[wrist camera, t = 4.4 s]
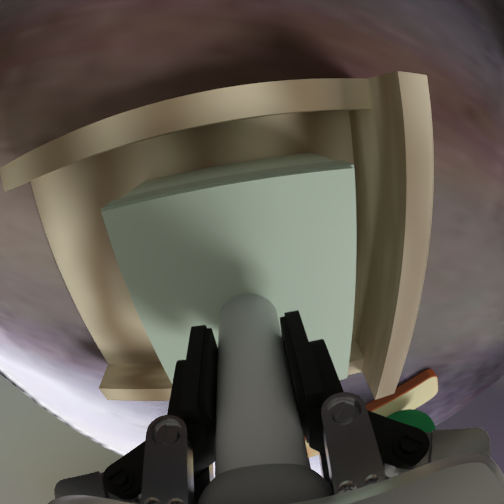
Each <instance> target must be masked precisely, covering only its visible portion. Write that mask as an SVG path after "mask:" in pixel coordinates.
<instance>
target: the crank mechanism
mask: <svg viewBox="0 0 504 504" xmlns="http://www.w3.org/2000/svg"><path fill="white" fill-rule="evenodd" d="M437 392H438V380H437V376H436V374H435V373H434V371H433V370H432V369H428V370H425V371H423V372H422V373H420V374H418V375H417V376H415V377H414V378H412V379H410V380H409V381H407V382H406V383H404V384H402V385H400V386H399V387H397V388H396V390H395V393H394V394H391V395H388V396H385V397H382V398H379V399H376V400H373V401H372V402H370V403H368V404H366V408H367V410H369V411H371V412H374V413H376V414H379V415H382V416H385V417H387V418H390V419H393V420H396V421H399V422H402V423H405V424H408V425H411V426H414V427H417V428H419V429H421V430H423V431H424V432H432V431H433V430H436V429H435V425H434V423H433V421H432V420H431V418H430V417H429V416H428V415H427V414H425V413H423V412H421V411H418V410H414V409H416V408H417V407H419V406H420V405H422V404H424V403H425V402H427V401H429V400H430V399H431V398H433V397H434V396H435V395H436V393H437ZM304 439H305V444H306V448H307V453H308V458H310V457H313V456H316V455H318V454H319V452H318V451H316V450H314V449H312V448H310V447H309V443H307V442H306V437H304Z"/></svg>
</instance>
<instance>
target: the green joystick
mask: <svg viewBox="0 0 504 504" xmlns="http://www.w3.org/2000/svg"><path fill="white" fill-rule="evenodd" d="M101 213H102V216H103V220H104V223H105V226H106V229H107V233H108V236H109V239H110V242H111V245H112V248H113V251H114V254H115V256H116V259H117V262H118V265H119V268H120V270H121V273H122V276H123V278H124V281H125V283H126V286H127V289H128V291H129V294H130V296H131V298H132V301H133V303H134V306H135V308H136V310H137V313H138V315H139V317H140V320H141V322H142V324H143V326H144V329H145V331H146V333H147V335H148V337H149V339H150V342H151V344H152V346H153V348H154V350H155V352H156V354H157V356H158V358H159V360H160V362H161V364H162V366H163V368H164V370H165V372H166V374H167V375H168V377H169V379H170V381H171V383H173V378H174V372H175V366H176V362H177V361H178V360H186V356H187V349H188V343H189V337H190V330H191V327H192V326H200V325H206V327H207V328H211V329H212V331H213V334H214V337H215V341H216V344H217V347H218V360H217V391H216V443H215V478H214V479H213V480H212V481H211V482H210V483H209V484H208V485H207V487H206V488H205V489H204V491H203V492H202V494H201V496H200V498H199V501H198V504H291V503H297V502H303V501H309V500H314V499H319V498H323V497H328V496H332V492H331V486H330V485H329V484H328V482H327V481H326V480H325V479H324V478H323V477H322V476H320V475H319V474H318V473H316V472H315V471H314V470H312V469H311V468H310V463H309V458H308V453H307V448H306V444H305V439H304V434H303V429H302V425H301V420H300V417H299V413H298V409H297V404H296V399H295V395H294V390H293V385H292V381H291V376H290V372H289V367H288V362H287V358H286V353H285V349H284V344H283V340H282V333H281V325H280V317H284V316H285V315H284V313H286V312H291V311H297V310H298V311H299V313H300V316H301V319H302V323H303V326H304V329H305V332H306V335H307V338H308V341H309V342H310V341H315V340H320V339H323V340H324V341H325V344H326V346H327V349H328V351H329V354H330V357H331V359H332V362H333V365H334V367H335V370H336V373H337V375H338V378H339V380H342V379H346V378H347V376H348V368H349V360H350V351H351V341H352V331H353V318H354V304H355V285H356V251H357V223H356V188H355V170H354V164H351V163H349V162H346V161H335V160H332V159H329V158H327V157H324V156H321V155H318V154H316V153H304V154H295V155H287V156H279V157H271V158H264V159H257V160H251V161H244V162H238V163H232V164H226V165H220V166H215V167H210V168H204V169H199V170H194V171H189V172H184V173H180V174H175V175H170V176H166V177H162V178H157V179H153V180H149V181H145V182H142V183H141V184H139V185H138V186H136V187H135V188H134V189H132V190H131V191H129V192H128V193H126V194H125V195H124V196H122V197H121V198H119V199H117V200H113V201H111V202H109V203H108V204H106V205H105V206H103V207H102V208H101Z"/></svg>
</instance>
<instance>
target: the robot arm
mask: <svg viewBox="0 0 504 504" xmlns="http://www.w3.org/2000/svg"><path fill="white" fill-rule="evenodd" d="M284 315H285V316H284V317H280V325H281V333H282V340H283V344H284V349H285V353H286V358H287V362H288V367H289V372H290V376H291V381H292V385H293V390H294V395H295V399H296V404H297V409H298V413H299V417H300V420H301V425H302V429H303V434H304V437H306V442H307V443H309V447H310V448H312V449H314V450H316V451H318V452H319V459H320V466H321V473H322V477H323V478H324V479H325V480H326V481H327V482H328V484H329V485H330V486H331V492H332V496H328V497H323V498H319V499H314V500H309V501H303V502H297V503H291V504H504V475H503V473H502V471H501V470H500V468H499V467H498V466H497V464H496V463H495V462H494V461H493V460H492V459H491V458H490V440H489V436H488V434H487V432H486V431H485V430H483V429H481V428H466V429H450V430H433V431H432V432H424V431H423V430H421V429H419V428H417V427H414V426H411V425H408V424H405V423H402V422H399V421H396V420H393V419H390V418H387V417H385V416H382V415H379V414H376V413H374V412H371V411H369V410H367V408H366V405H365V403H364V401H363V400H362V399H361V398H360V397H359V396H358V395H355V394H353V393H348V392H343V389H342V386H341V383H340V381H339V378H338V375H337V373H336V370H335V367H334V365H333V362H332V359H331V357H330V354H329V351H328V349H327V346H326V344H325V341H324V340H323V339H320V340H315V341H310V342H309V341H308V338H307V335H306V332H305V329H304V326H303V323H302V319H301V316H300V313H299V311H298V310H297V311H291V312H286V313H284ZM217 360H218V347H217V344H216V341H215V337H214V334H213V331H212V329H211V328H207V327H206V325H200V326H192V327H191V330H190V337H189V343H188V349H187V356H186V360H178V361H177V362H176V366H175V372H174V378H173V383H172V389H171V395H170V401H169V408H168V414H167V415H165V416H161V417H158V418H156V419H155V420H154V421H152V422H151V424H150V425H149V426H148V429H147V432H146V441H144V442H143V443H142V444H140V445H139V446H137V447H136V448H135V449H133V450H132V451H130V452H129V453H127V454H126V455H125V456H123V457H122V458H120V459H119V460H117V461H116V462H114V463H113V464H111V465H110V466H109V467H108V468H107V469H106V470H105V472H103V473H100V472H99V471H98V472H94V473H90V474H86V475H81V476H77V477H72V478H67V479H63V480H60V481H59V482H58V483H57V484H56V486H55V490H54V491H55V493H54V494H55V499H54V500H52V501H50V502H49V503H48V504H198V501H199V498H200V496H201V494H202V492H203V491H204V489H205V488H206V487H207V485H208V484H209V483H210V482H211V481H212V480H213V479H214V476H213V464H212V463H213V462H214V461H215V443H216V391H217Z"/></svg>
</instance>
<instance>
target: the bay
mask: <svg viewBox="0 0 504 504" xmlns="http://www.w3.org/2000/svg"><path fill="white" fill-rule="evenodd" d="M304 153H316V154H318V155H321V156H324V157H327V158H329V159H332V160H335V161H346V162H349V163H351V164H354V170H355V188H356V223H357V251H356V285H355V304H354V318H353V331H352V341H351V351H350V360H349V368H348V375H351V374H355V373H359V372H363V374H364V376H365V379H366V381H367V383H368V385H369V388H370V390H371V392H372V394H373V397H374V399H375V400H376V399H379V398H382V397H385V396H388V395H391V394H394V393H395V390H396V387H397V384H398V381H399V378H400V375H401V372H402V369H403V366H404V363H405V359H406V356H407V352H408V349H409V345H410V342H411V338H412V334H413V330H414V326H415V322H416V318H417V313H418V309H419V304H420V299H421V294H422V289H423V283H424V277H425V271H426V265H427V258H428V250H429V242H430V232H431V221H432V207H433V182H434V154H433V130H432V116H431V105H430V96H429V88H428V81H427V75H422V74H416V73H408V72H400V71H396V72H392V73H388V74H384V75H380V76H376V77H372V78H368V79H355V78H321V79H297V80H283V81H272V82H262V83H254V84H246V85H239V86H232V87H226V88H220V89H215V90H209V91H204V92H199V93H194V94H190V95H185V96H181V97H176V98H172V99H168V100H164V101H161V102H157V103H153V104H150V105H146V106H143V107H139V108H136V109H133V110H129V111H126V112H123V113H120V114H117V115H114V116H111V117H109V118H106V119H103V120H100V121H97V122H95V123H92V124H90V125H87V126H85V127H82V128H80V129H77V130H75V131H72V132H70V133H68V134H65V135H63V136H61V137H59V138H56V139H54V140H52V141H50V142H48V143H46V144H44V145H42V146H40V147H38V148H36V149H34V150H32V151H30V152H28V153H26V154H24V155H22V156H20V157H18V158H17V159H15V160H13V161H11V162H9V163H8V164H6V165H4V166H3V167H1V168H0V175H1V180H2V184H3V188H4V192H7V191H9V190H11V189H13V188H16V187H18V186H20V185H23V184H25V183H27V182H31V186H32V189H33V193H34V197H35V200H36V204H37V207H38V211H39V214H40V217H41V220H42V223H43V226H44V229H45V232H46V235H47V238H48V241H49V244H50V246H51V249H52V252H53V254H54V257H55V259H56V262H57V264H58V267H59V269H60V272H61V274H62V276H63V279H64V281H65V283H66V285H67V288H68V290H69V292H70V294H71V296H72V298H73V301H74V303H75V305H76V307H77V309H78V311H79V313H80V315H81V317H82V319H83V321H84V322H85V324H86V326H87V328H88V330H89V332H90V334H91V335H92V337H93V339H94V341H95V342H96V344H97V346H98V348H99V349H100V351H101V353H102V354H103V356H104V358H105V359H106V361H107V363H108V366H107V369H106V371H105V374H104V376H103V379H102V382H101V384H100V387H99V389H100V390H101V392H102V393H103V394H104V396H105V397H106V398H107V400H127V401H169V400H170V395H171V389H172V383H171V381H170V379H169V377H168V375H167V374H166V372H165V370H164V368H163V366H162V364H161V362H160V360H159V358H158V356H157V354H156V352H155V350H154V348H153V346H152V344H151V342H150V339H149V337H148V335H147V333H146V331H145V329H144V326H143V324H142V322H141V320H140V317H139V315H138V313H137V310H136V308H135V306H134V303H133V301H132V298H131V296H130V294H129V291H128V289H127V286H126V283H125V281H124V278H123V276H122V273H121V270H120V268H119V265H118V262H117V259H116V256H115V254H114V251H113V248H112V245H111V242H110V239H109V236H108V233H107V229H106V226H105V223H104V220H103V216H102V213H101V208H102V207H103V206H105V205H106V204H108V203H109V202H111V201H113V200H117V199H119V198H121V197H122V196H124V195H125V194H126V193H128V192H129V191H131V190H132V189H134V188H135V187H136V186H138V185H139V184H141V183H142V182H145V181H149V180H153V179H157V178H162V177H166V176H170V175H175V174H180V173H184V172H189V171H194V170H199V169H204V168H210V167H215V166H220V165H226V164H232V163H238V162H244V161H251V160H257V159H264V158H271V157H279V156H287V155H295V154H304Z"/></svg>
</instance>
